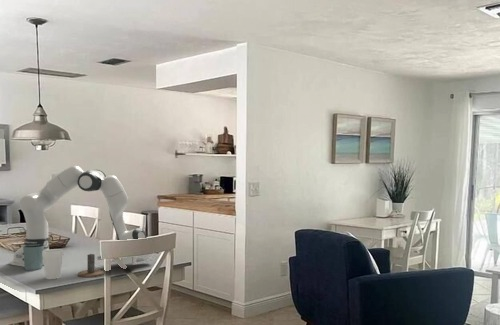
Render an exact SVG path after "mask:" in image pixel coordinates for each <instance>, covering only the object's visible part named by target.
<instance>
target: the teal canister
mask: <svg viewBox="0 0 500 325" xmlns="http://www.w3.org/2000/svg"><path fill="white" fill-rule="evenodd" d="M22 246H23V245H22ZM23 251H24V267H23V268H24V270H25V271H28V272H29V271H32V272H33V271H38V270H39V271H40V270H42V269H43V266H44V265H43V257H42V251H44V245H40V244H34V245H26V246H23Z"/></svg>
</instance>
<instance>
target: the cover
mask: <svg viewBox="0 0 500 325" xmlns="http://www.w3.org/2000/svg"><path fill="white" fill-rule="evenodd" d="M86 256H87V269H85V270H81V271H79V272H78V275H77V276H78V277H80V278H97V277H101V276H103V275H104V274H105V273H104V272H105V271H104V270H102V269H97V268H96V267H95V253H89V254H86ZM95 268H96V269H95Z"/></svg>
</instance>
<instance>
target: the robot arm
mask: <svg viewBox="0 0 500 325" xmlns="http://www.w3.org/2000/svg"><path fill="white" fill-rule="evenodd" d="M77 186H78V187H79V189H80V190H82V191H84V192H95V191H101V192H102V194H103V195H104V198H105V200H106V202H107V205H108V210H109V218H110V220H111V223H112V226H113V229H114V231H115V233H116V240H127V239H138V238H147V239H148V237H147V232H145V230H144V229H143V228H140V227H136V228H133V229H131V230H128V229H127V226H126V223H125V220H124V217H123V216H124V215H123V214H124V211H125V210H126V208H127V207H128V205H129V201H130V200H129V197H128V194H127V192H126V190H125V188H124V186H123V183H122V182H121V181H120V180H119V179H118V177H117V176H116V175H112V174H111V175H110V174H109V175H106V174H105V172H103V171H102V170H99V169H92V170H86V171H84V170H83V169H82V167H81V166H78V165H71V166H69V167H67V168H66V169H64V170H62V171H60V172H59V173H57V175H56V176H54V177H52V178H51V179H50V180H49V181H47V183H46V185H44V187H43V188H41V190H39V191H36V192H32V193H27V194H26V195H24V196H22V197H21V198H20V199H19V203H18V207H19V209H20V210H21V212H22V213H23V216H24V220H25V226H26V229H25V230H26V231H25V232H26V237H25V239H24V238H23V240H22V242H23V245H22V246H21V247H20V248H18V249H17V250H16V251H15V252H14V253H13V254H14V255H13V260H10V261H8V265H13V266H18V267H22V268H24V251H23V246H26V245H34V244H40V245H44V250H50V237H49V222H48V220H47V218H46V215H45V212H47V211H49V210H50V209H52V208H53V207H54V205H56V203H58V202H59V200H60V199H61V198H63V197H64V196H65V195H67V194H68V193H69V192H71V191H73V189H75V188H76V187H77ZM153 256H154V253H153V254H150V255H143V256H138V257H127V258H121V261H122V262H123V263H124V264H125V265H136V263H141V262H145V261H149V259H151V258H152V257H153ZM96 259H97V260H98V261H103V259H101V255H99V256H97V258H96ZM113 263H116V262H115V261H114V260H112V261H111V264H113ZM116 264H117V263H116ZM124 264H123V265H124ZM42 266H44V262H43V265H42Z"/></svg>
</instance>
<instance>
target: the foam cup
mask: <svg viewBox="0 0 500 325" xmlns="http://www.w3.org/2000/svg"><path fill="white" fill-rule="evenodd" d="M63 256H64V250H63V249H62V248H61V249H60V248H53V249H52V248H51V249H50V248H49V250H44V251H42V257H43V262H44V265H43V267H44V275H45V276H44V277H45V279H46V280H57V279H59V278H61V272H62V270H61V269H62V266H63V265H62V264H63ZM56 278H57V279H56Z"/></svg>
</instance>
